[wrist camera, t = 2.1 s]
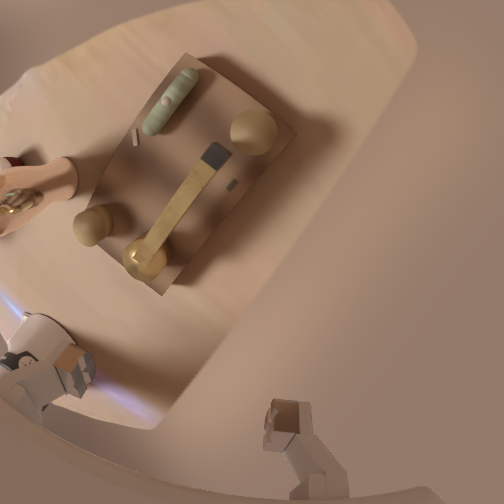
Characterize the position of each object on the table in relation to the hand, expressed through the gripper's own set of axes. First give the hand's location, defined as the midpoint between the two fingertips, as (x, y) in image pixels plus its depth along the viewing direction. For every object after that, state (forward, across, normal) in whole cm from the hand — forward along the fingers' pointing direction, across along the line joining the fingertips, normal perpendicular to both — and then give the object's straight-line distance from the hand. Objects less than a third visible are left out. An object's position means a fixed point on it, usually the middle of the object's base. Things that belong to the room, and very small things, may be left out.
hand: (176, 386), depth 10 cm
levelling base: (+23, +8, -3) cm, 25 cm away
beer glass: (+24, +25, -1) cm, 34 cm away
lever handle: (+20, +6, -1) cm, 21 cm away
